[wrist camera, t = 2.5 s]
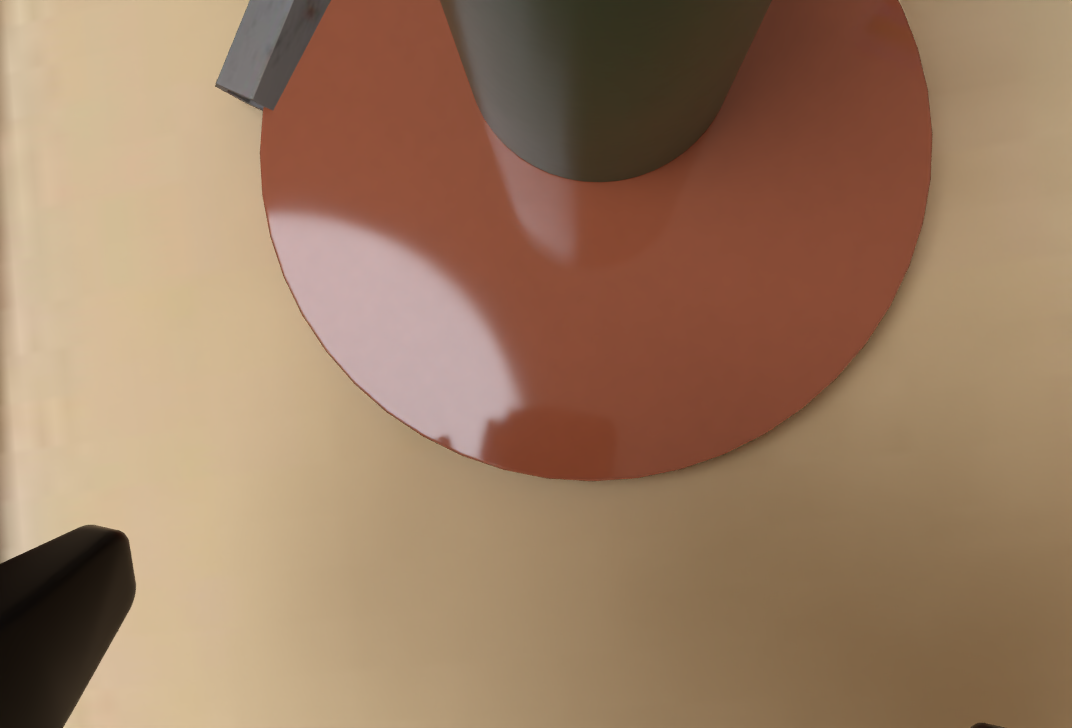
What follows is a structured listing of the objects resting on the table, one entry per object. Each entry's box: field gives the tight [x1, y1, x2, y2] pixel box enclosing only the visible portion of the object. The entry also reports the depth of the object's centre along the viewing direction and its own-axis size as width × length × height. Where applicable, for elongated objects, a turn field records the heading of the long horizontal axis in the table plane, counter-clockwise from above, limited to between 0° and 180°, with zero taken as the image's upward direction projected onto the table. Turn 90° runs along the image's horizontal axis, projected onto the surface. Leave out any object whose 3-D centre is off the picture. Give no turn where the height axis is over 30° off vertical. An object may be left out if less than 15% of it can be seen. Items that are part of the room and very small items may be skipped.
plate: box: [260, 0, 932, 481], centre depth 20 cm, size 16×16×1 cm
